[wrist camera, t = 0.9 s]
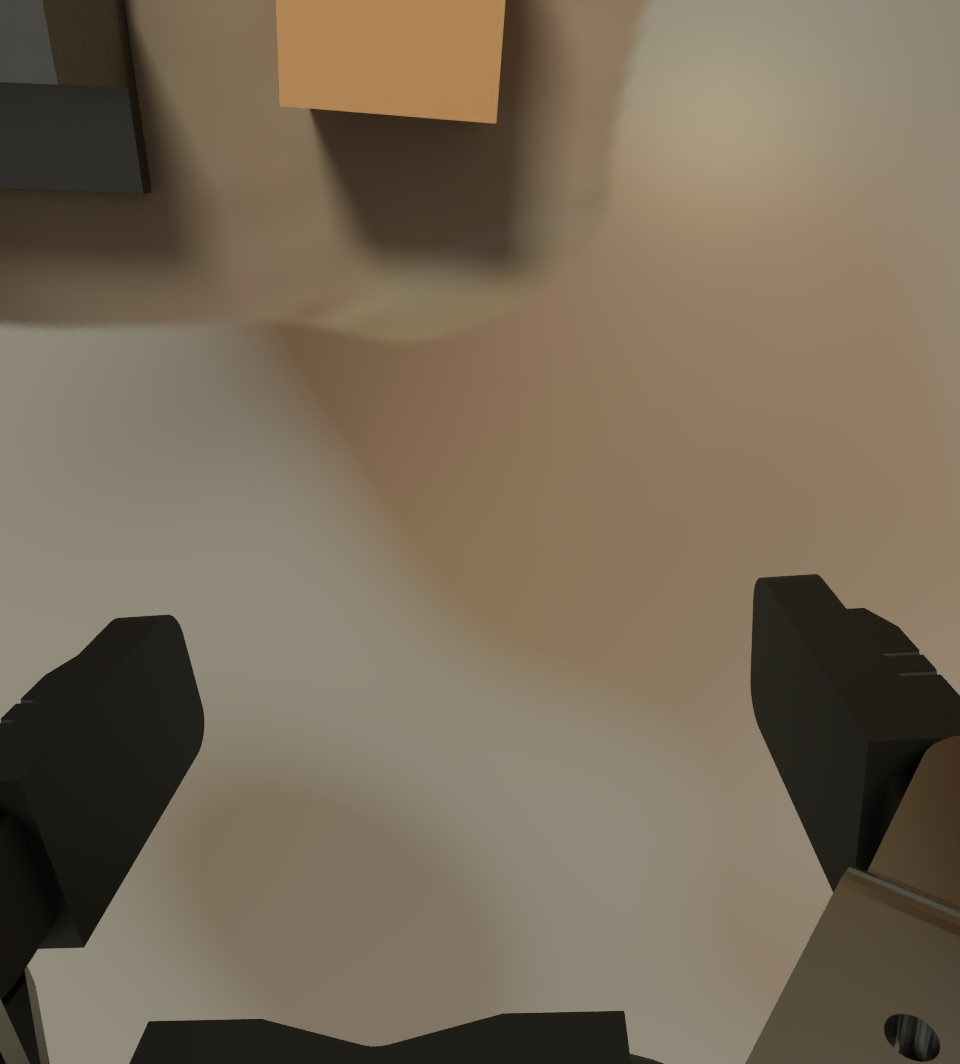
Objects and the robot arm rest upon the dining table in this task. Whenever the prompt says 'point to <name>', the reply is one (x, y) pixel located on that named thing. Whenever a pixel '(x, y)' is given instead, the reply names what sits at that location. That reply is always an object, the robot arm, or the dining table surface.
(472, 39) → the block
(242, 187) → the dining table surface
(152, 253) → the dining table surface
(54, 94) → the rail
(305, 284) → the dining table surface
